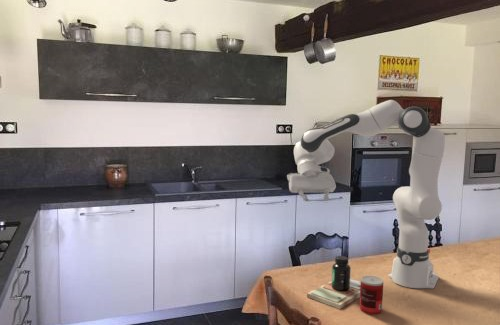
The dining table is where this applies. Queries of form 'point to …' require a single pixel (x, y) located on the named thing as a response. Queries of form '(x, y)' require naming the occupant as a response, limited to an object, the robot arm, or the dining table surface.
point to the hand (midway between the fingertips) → (316, 199)
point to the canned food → (371, 294)
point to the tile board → (336, 294)
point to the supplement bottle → (341, 274)
